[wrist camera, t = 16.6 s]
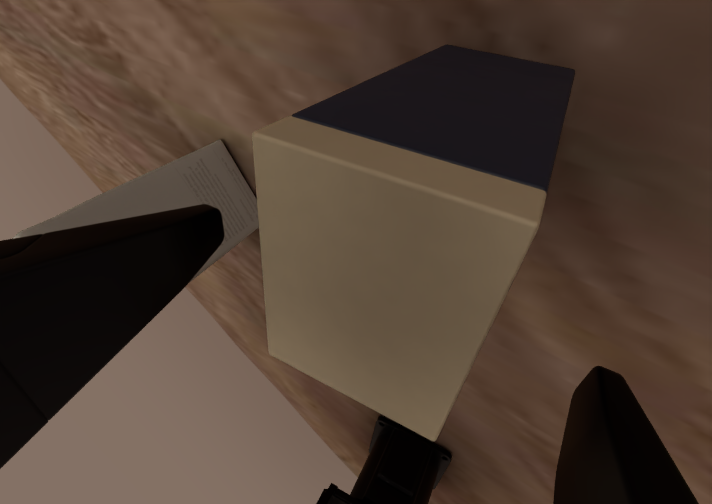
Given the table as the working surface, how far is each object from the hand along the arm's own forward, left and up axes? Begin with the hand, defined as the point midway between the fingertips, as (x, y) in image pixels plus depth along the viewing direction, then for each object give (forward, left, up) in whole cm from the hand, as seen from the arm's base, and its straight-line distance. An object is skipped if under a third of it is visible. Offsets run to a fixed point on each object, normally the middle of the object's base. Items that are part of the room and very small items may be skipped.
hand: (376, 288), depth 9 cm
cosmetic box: (-8, +15, -11) cm, 20 cm away
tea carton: (-3, 0, -5) cm, 6 cm away
